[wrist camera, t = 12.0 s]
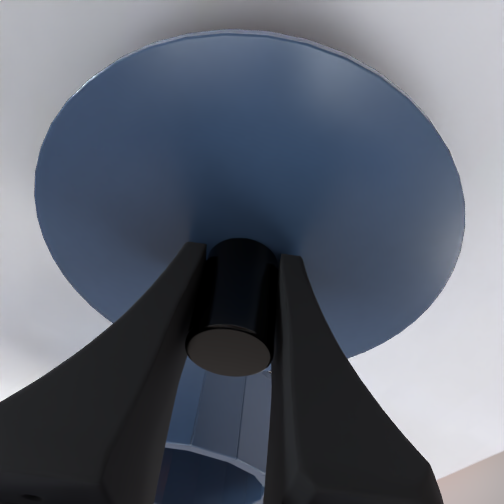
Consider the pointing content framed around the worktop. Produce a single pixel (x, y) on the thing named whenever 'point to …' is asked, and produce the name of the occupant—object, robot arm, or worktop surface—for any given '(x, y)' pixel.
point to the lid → (251, 190)
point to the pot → (216, 439)
